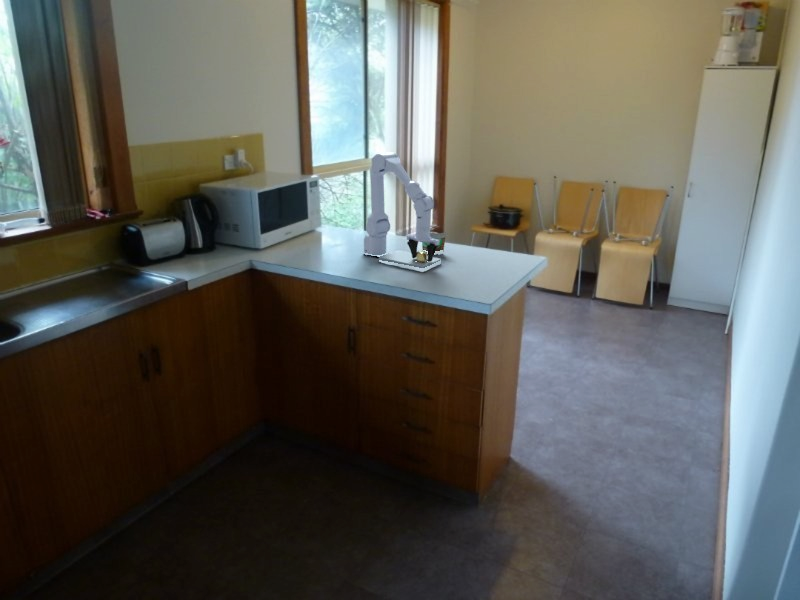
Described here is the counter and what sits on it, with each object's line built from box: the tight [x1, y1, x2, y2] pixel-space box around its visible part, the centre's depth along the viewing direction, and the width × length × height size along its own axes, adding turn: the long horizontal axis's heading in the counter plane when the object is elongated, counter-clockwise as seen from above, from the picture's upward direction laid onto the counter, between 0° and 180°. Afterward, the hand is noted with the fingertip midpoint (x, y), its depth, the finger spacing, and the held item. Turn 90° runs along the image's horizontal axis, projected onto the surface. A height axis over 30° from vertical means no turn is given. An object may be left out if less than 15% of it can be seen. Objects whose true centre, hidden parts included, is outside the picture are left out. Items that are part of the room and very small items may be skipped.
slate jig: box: [378, 249, 442, 268], centre depth 245 cm, size 22×14×2 cm, turn 56°
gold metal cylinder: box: [417, 250, 428, 264], centre depth 241 cm, size 4×4×6 cm
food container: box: [421, 231, 448, 251], centre depth 259 cm, size 12×6×10 cm, turn 62°
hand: (422, 259), depth 242 cm, fingers open, 7 cm apart
